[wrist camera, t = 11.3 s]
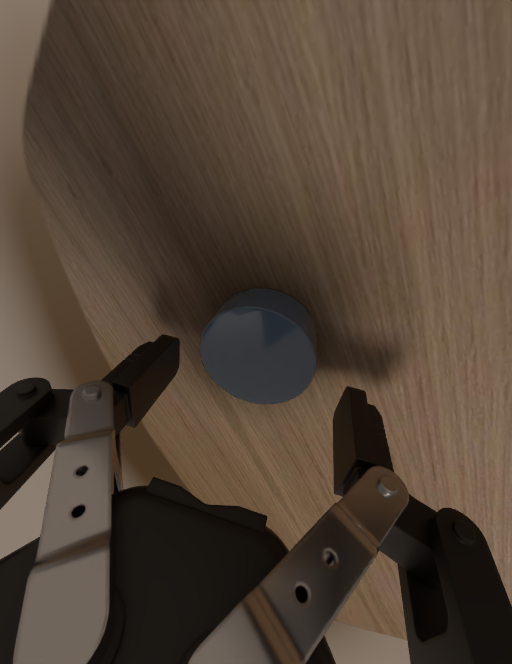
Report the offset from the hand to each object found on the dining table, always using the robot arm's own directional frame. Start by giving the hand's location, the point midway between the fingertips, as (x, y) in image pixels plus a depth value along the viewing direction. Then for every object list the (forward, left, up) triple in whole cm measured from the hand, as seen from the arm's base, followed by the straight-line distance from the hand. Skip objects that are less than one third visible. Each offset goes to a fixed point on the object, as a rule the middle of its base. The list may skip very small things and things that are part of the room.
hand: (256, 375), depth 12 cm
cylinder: (0, 0, -3) cm, 3 cm away
